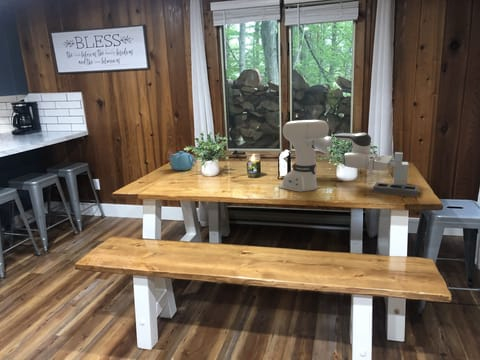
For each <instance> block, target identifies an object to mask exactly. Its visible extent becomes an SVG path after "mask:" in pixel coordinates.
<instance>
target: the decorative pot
mask: <svg viewBox="0 0 480 360" xmlns="http://www.w3.org/2000/svg"><path fill="white" fill-rule="evenodd" d="M168 157H169V160H170V162H169V166H170V168H171V169H172V170H174V171H175V172H177V171H183V172H187V170H190V169H192V168H193V167H195V165H196V163H195V162H194V161H195V156H194V155H193V154H190V153H189V152H185V151H183V150H179V151H178V152H176V153H172V154H170V155H169V156H168Z"/></svg>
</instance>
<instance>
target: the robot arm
mask: <svg viewBox="0 0 480 360" xmlns="http://www.w3.org/2000/svg"><path fill="white" fill-rule="evenodd" d="M329 127H330V126H329V124H328V122H326V120H321V119H302V120H291V121H288V122H286V123H284V125H283V127H282V135H283V137H284V138H285V139H286V140H287V141H288V142H289V143H290V144H291V145H292V146H293V149H294V151H295V162H294V164H292V165H291V168H292V170H290V171H289V172H288V173H286V174H285V175H284V176H283V179H282V182H281V183H279V185H278V187H279V189H284V190H287V191H288V190H289V191H295V192H299V193H300V192H310V191H314V190H315V191H316V190H318V189H319V187H318V182H317V176H316V175H317V174H316V173H317V163H316V150H318V151H319V152H321V153H324V154H326V155H329V151H328V150H327V147H329V146H332V145H333V143H332V141H331V138H332V137H334V136H335V137H336V138H338V139H342V140H344V142H345V141H346V142H351V143H352V152H345V153H344V154H343V165H344V166H345V167H347V168H353V169H365V170H368V171H371V172H373V171H387V170H388V169H389V167H394V166H399V162H396V163H395V162H394V156H393V155H383V154H382V155H378V154H377V153H375V152H373V153H372V152H371V143H372V136H370V135H369V133H367V132H337V133H335V134H332V136H330V135H329V130H330V128H329ZM312 146H313V147H312ZM315 149H316V150H315Z"/></svg>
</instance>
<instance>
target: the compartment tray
mask: <svg viewBox="0 0 480 360" xmlns="http://www.w3.org/2000/svg"><path fill="white" fill-rule="evenodd" d="M372 192H373V193H378V194H385V195H386V194H388V195H396V196H397V195H398V196H406V197H407V196H408V197H415V198H417V197H418V194H419V193H420V186H419V185H411V184H407V185H400V184H393V183H387V182H375V184H374V185H373V187H372Z"/></svg>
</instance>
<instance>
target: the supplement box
mask: <svg viewBox="0 0 480 360" xmlns="http://www.w3.org/2000/svg"><path fill="white" fill-rule="evenodd" d="M408 173H409V162H408V161H402V171H401V177H400V178H395V177H392V179H393V180H392V182H393V183H392V184H400V185H408V177H409V176H408V175H409V174H408Z"/></svg>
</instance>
